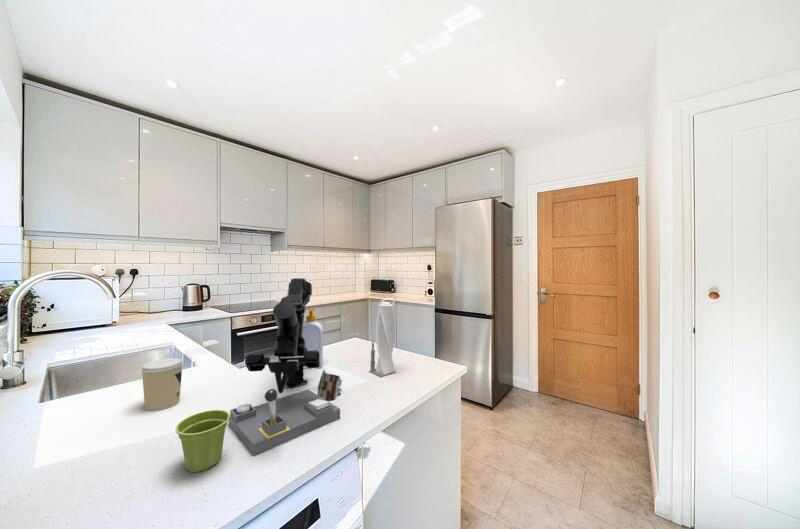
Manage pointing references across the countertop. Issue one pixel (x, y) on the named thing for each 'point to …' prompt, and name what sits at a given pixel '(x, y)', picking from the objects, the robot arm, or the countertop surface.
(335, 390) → the chocolate cake
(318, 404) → the rocker switch
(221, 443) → the plant pot
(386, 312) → the skyscraper
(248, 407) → the push button
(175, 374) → the coffee cup
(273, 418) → the toggle lever
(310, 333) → the soap bottle
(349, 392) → the countertop surface
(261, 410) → the switch panel
